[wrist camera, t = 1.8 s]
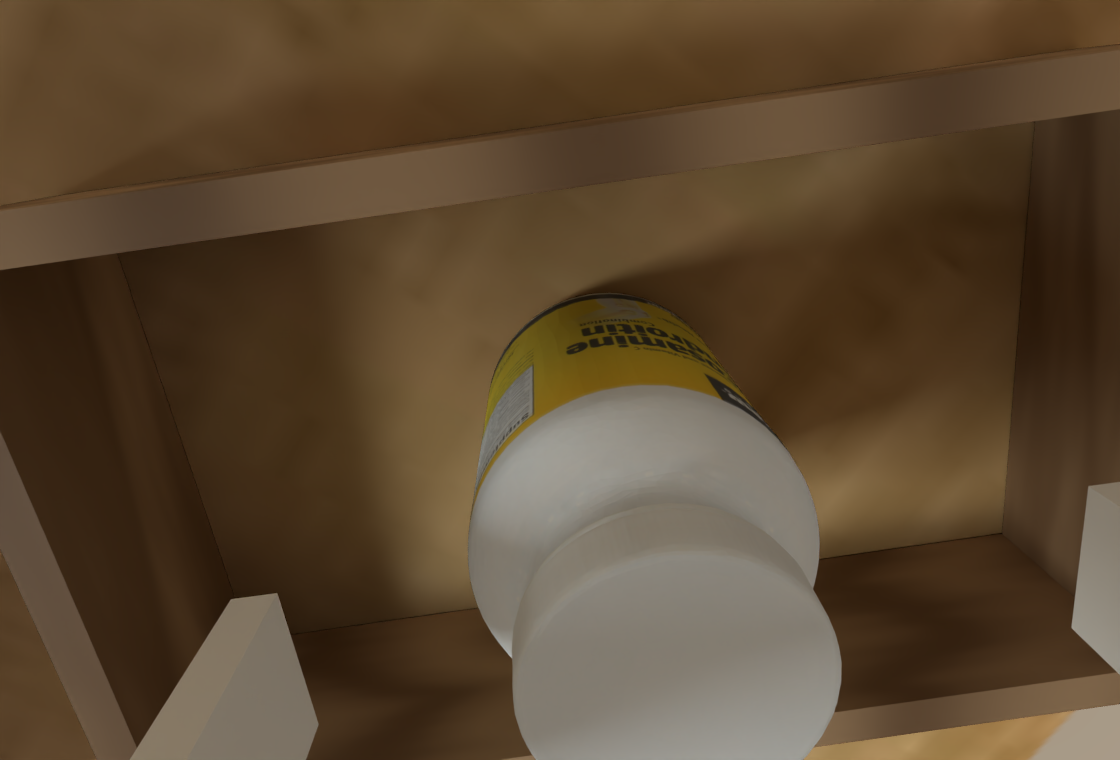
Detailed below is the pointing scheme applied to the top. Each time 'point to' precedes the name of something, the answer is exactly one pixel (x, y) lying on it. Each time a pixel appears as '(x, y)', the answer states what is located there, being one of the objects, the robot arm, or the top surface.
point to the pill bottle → (646, 548)
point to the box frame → (463, 636)
